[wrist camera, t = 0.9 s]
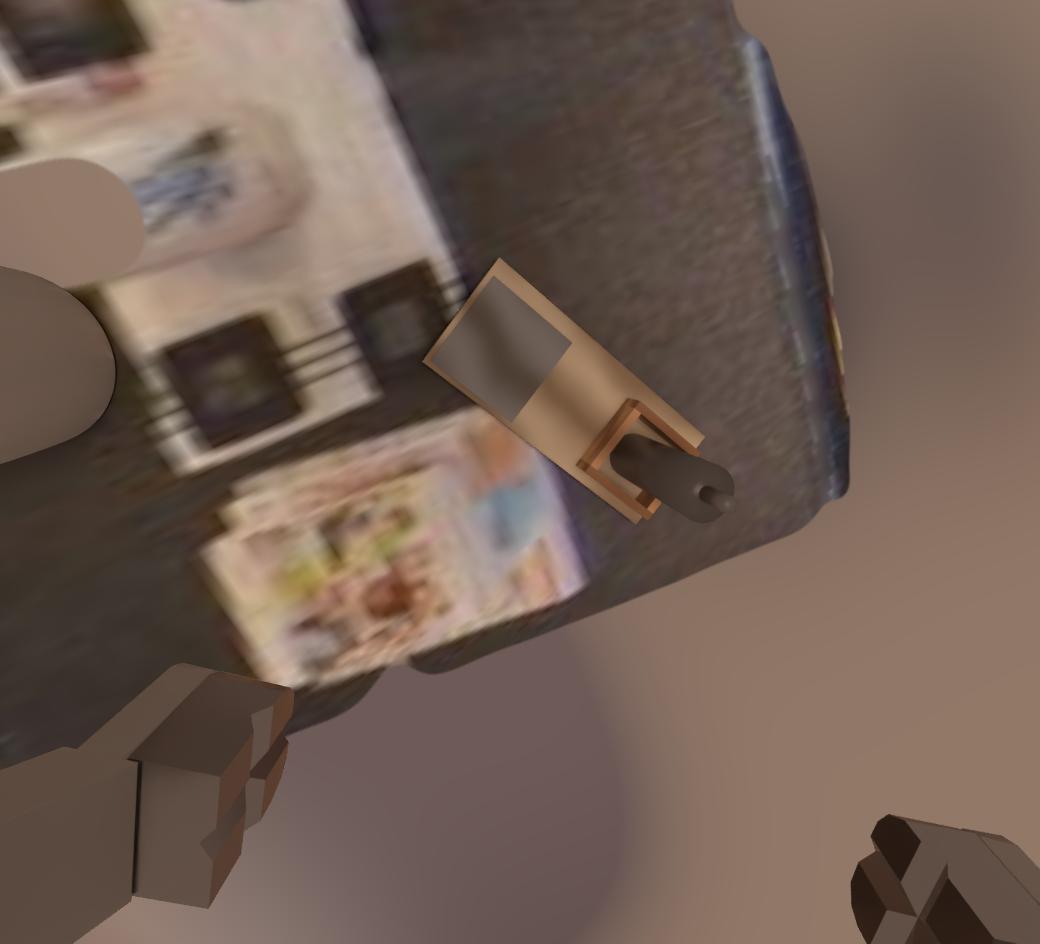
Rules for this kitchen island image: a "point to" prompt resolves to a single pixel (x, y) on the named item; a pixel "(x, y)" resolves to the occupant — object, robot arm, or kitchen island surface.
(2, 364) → the utensil holder
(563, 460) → the cable board
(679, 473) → the plug
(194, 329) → the kitchen island surface
